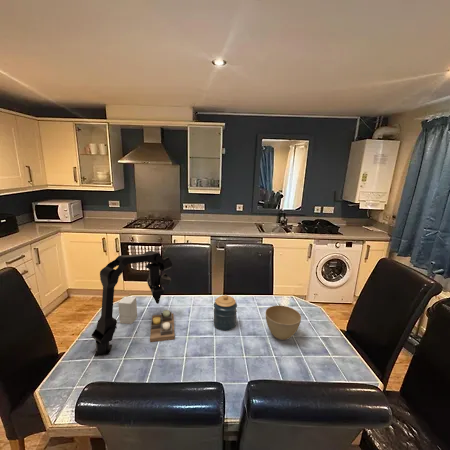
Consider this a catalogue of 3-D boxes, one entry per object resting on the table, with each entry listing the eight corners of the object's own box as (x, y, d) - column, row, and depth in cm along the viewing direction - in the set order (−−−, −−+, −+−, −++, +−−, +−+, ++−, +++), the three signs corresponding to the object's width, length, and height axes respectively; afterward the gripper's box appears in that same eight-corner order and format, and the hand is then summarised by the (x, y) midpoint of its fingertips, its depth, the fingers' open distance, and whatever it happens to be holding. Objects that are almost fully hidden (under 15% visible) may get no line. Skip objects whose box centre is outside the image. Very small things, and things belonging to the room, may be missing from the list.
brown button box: (174, 339, 128) (174, 332, 127) (150, 342, 125) (149, 335, 124) (173, 316, 148) (173, 310, 147) (152, 318, 145) (152, 312, 144)
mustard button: (160, 324, 134) (160, 320, 133) (153, 325, 133) (152, 321, 132) (160, 320, 137) (160, 316, 137) (153, 321, 136) (153, 317, 136)
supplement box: (137, 316, 146) (136, 297, 144) (132, 324, 139) (130, 303, 137) (125, 315, 147) (124, 296, 144) (119, 323, 140) (117, 302, 137)
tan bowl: (300, 349, 123) (302, 326, 120) (263, 343, 126) (264, 321, 123) (297, 327, 140) (299, 307, 137) (265, 322, 143) (266, 303, 141)
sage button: (169, 317, 140) (169, 313, 140) (162, 318, 139) (162, 313, 139) (169, 313, 144) (169, 309, 143) (163, 314, 143) (162, 310, 143)
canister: (227, 334, 133) (227, 303, 129) (208, 325, 140) (208, 296, 136) (240, 322, 143) (241, 294, 139) (222, 314, 150) (223, 287, 147)
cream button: (170, 330, 129) (170, 326, 128) (162, 331, 128) (162, 326, 128) (170, 325, 133) (169, 321, 132) (162, 326, 132) (162, 322, 131)
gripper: (173, 277, 133) (174, 304, 136) (165, 265, 149) (166, 289, 152) (152, 281, 128) (153, 309, 131) (146, 268, 144) (147, 293, 148)
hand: (156, 299), depth 141 cm, fingers open, 9 cm apart
